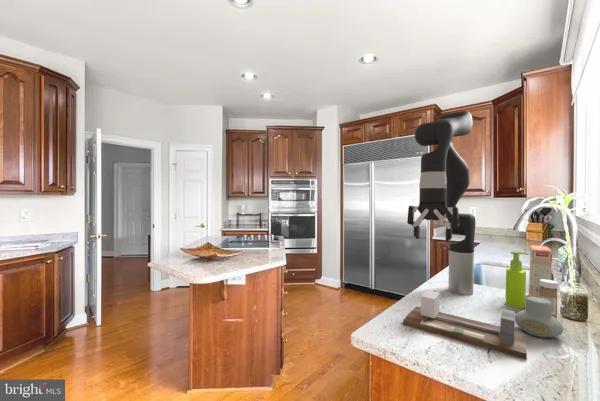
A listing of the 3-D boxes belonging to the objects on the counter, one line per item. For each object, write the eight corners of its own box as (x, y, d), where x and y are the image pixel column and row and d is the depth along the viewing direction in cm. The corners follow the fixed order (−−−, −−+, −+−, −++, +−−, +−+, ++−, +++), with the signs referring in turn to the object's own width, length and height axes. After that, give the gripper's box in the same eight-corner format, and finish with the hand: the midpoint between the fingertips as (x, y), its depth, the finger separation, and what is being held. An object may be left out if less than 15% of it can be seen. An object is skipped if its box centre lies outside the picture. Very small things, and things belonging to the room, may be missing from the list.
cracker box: (551, 307, 103) (552, 251, 103) (530, 303, 107) (531, 249, 106) (547, 297, 114) (548, 246, 114) (528, 294, 118) (529, 244, 118)
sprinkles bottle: (559, 323, 90) (560, 281, 90) (554, 326, 88) (555, 283, 87) (541, 317, 94) (542, 277, 94) (536, 321, 91) (537, 280, 91)
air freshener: (564, 335, 82) (565, 301, 82) (560, 345, 76) (561, 309, 76) (518, 322, 90) (518, 291, 90) (511, 330, 84) (512, 297, 84)
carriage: (426, 309, 94) (426, 290, 94) (439, 312, 92) (439, 293, 92) (417, 320, 85) (417, 299, 85) (431, 324, 83) (431, 302, 83)
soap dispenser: (532, 308, 102) (533, 253, 102) (513, 307, 102) (514, 253, 102) (519, 302, 108) (521, 250, 108) (501, 301, 108) (502, 250, 108)
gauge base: (415, 310, 99) (416, 289, 98) (525, 337, 80) (525, 311, 80) (403, 324, 87) (403, 300, 87) (526, 359, 69) (527, 329, 69)
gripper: (461, 187, 85) (460, 240, 85) (412, 187, 93) (411, 236, 94) (457, 186, 79) (456, 244, 79) (405, 187, 87) (404, 239, 88)
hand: (432, 239), depth 86 cm, fingers open, 8 cm apart
